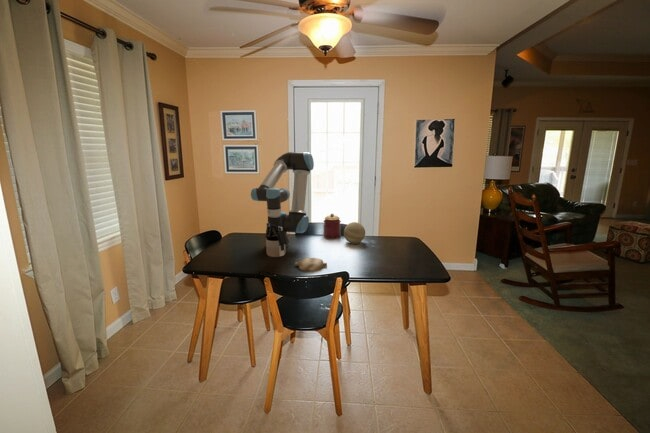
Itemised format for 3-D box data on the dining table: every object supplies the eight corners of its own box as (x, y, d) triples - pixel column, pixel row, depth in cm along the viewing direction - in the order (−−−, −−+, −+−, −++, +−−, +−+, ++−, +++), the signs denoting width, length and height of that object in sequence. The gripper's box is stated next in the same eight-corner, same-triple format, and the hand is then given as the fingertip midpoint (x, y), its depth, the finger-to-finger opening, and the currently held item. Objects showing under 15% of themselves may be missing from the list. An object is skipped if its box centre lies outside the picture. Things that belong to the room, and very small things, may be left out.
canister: (322, 238, 228) (322, 215, 224) (325, 233, 241) (325, 211, 237) (339, 239, 226) (339, 215, 222) (341, 234, 238) (341, 212, 235)
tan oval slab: (293, 270, 168) (293, 266, 168) (297, 261, 182) (297, 257, 181) (326, 271, 167) (326, 267, 167) (327, 262, 181) (327, 258, 180)
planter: (286, 250, 183) (285, 234, 180) (285, 256, 172) (284, 240, 170) (267, 250, 182) (266, 235, 180) (265, 257, 171) (264, 241, 169)
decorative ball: (350, 238, 227) (351, 219, 223) (368, 242, 218) (369, 221, 215) (339, 243, 215) (339, 223, 212) (358, 247, 206) (358, 226, 203)
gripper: (257, 213, 178) (260, 249, 183) (280, 221, 161) (282, 260, 166) (269, 211, 182) (270, 246, 188) (292, 218, 165) (293, 256, 171)
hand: (276, 252), depth 177 cm, fingers closed on planter, 11 cm apart
